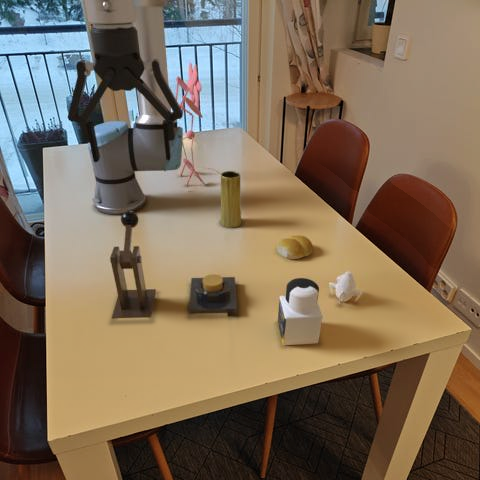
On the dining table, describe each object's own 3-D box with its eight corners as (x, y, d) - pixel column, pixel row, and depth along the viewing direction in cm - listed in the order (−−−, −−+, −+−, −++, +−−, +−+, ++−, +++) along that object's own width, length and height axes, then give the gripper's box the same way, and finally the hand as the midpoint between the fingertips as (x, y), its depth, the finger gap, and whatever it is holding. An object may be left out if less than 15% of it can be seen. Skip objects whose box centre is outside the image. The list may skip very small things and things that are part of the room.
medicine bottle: (277, 322, 90) (281, 274, 82) (310, 321, 90) (317, 273, 83) (282, 346, 84) (287, 296, 77) (318, 344, 85) (326, 294, 77)
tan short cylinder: (202, 281, 95) (202, 274, 94) (222, 280, 96) (222, 274, 94) (202, 292, 92) (202, 286, 91) (223, 292, 92) (223, 285, 91)
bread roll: (318, 253, 112) (320, 239, 109) (290, 263, 108) (292, 249, 105) (297, 240, 117) (299, 226, 115) (271, 249, 113) (272, 235, 111)
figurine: (189, 196, 139) (180, 72, 117) (172, 168, 158) (162, 58, 136) (234, 189, 143) (234, 69, 121) (213, 163, 162) (209, 55, 140)
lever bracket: (120, 294, 98) (109, 239, 89) (156, 293, 98) (148, 239, 89) (112, 322, 90) (99, 265, 81) (151, 321, 90) (141, 265, 81)
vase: (239, 228, 122) (239, 179, 113) (218, 226, 123) (216, 177, 114) (243, 219, 127) (243, 171, 118) (223, 217, 128) (222, 169, 119)
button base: (192, 285, 100) (190, 270, 98) (234, 284, 101) (234, 269, 98) (189, 317, 91) (188, 302, 89) (236, 316, 92) (236, 301, 89)
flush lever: (123, 218, 93) (119, 207, 90) (140, 218, 93) (137, 207, 90) (118, 270, 87) (114, 260, 84) (136, 270, 87) (133, 260, 84)
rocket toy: (327, 294, 98) (331, 264, 93) (349, 290, 99) (355, 261, 94) (337, 308, 94) (342, 277, 89) (360, 304, 95) (366, 274, 90)
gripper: (27, 28, 66) (62, 167, 79) (190, 27, 68) (198, 163, 81) (39, 24, 72) (70, 154, 85) (190, 23, 74) (197, 150, 87)
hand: (132, 158), depth 83 cm, fingers open, 13 cm apart
